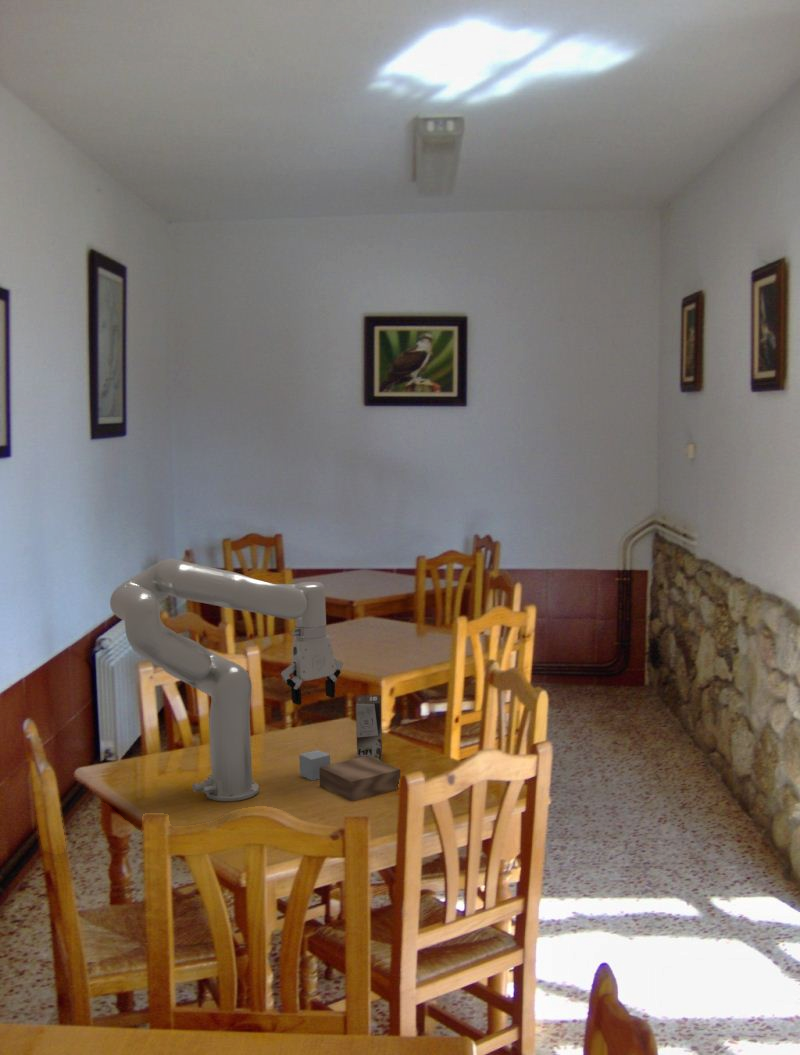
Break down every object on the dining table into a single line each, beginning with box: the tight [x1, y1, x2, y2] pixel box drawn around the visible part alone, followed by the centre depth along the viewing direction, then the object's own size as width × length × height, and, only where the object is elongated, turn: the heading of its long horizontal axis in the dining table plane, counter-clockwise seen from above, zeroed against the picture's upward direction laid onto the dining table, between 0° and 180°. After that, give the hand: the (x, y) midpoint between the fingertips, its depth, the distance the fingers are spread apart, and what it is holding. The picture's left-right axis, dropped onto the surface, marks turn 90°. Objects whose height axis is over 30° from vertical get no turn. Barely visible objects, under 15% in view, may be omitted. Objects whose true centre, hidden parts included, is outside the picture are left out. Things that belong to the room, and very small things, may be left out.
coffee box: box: [355, 694, 383, 762], centre depth 277 cm, size 9×6×16 cm
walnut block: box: [319, 756, 401, 802], centre depth 257 cm, size 14×14×5 cm
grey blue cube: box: [299, 749, 331, 781], centre depth 266 cm, size 6×6×6 cm
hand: (313, 700), depth 264 cm, fingers open, 9 cm apart
